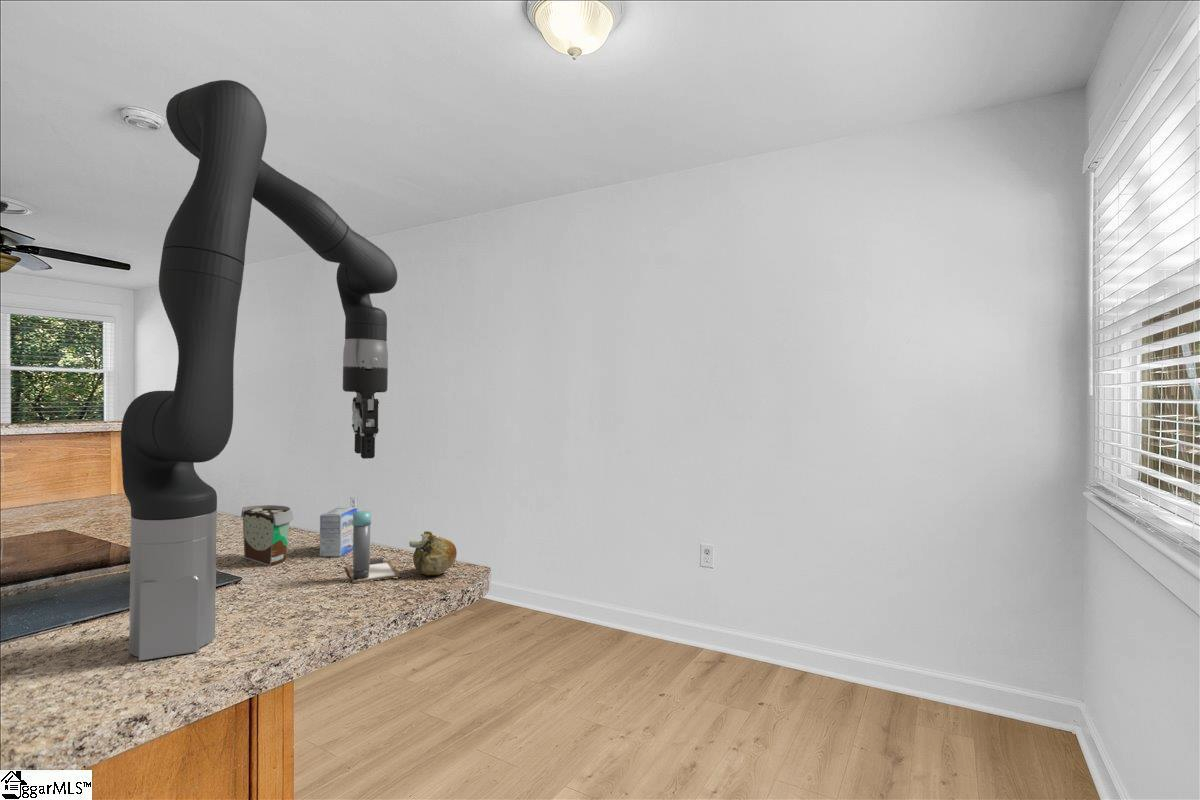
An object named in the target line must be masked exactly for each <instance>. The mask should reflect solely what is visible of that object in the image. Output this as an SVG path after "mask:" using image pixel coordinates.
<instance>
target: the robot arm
mask: <svg viewBox="0 0 1200 800" xmlns="http://www.w3.org/2000/svg"><path fill="white" fill-rule="evenodd" d="M165 112H166V113H165V117H166V122H167V125H168V128H169V130H170V132H171V133H172V135H173V137H174V138H175V139H176V141H177V142H178V143H180V146H182V147H183V148H184V149H185V150H186V151H188V153H190V154H191V155H193V156H194V157H195V158H196V159H198V165H197V170H196V174H195V177H194V179H193V181H192V184H191V186H190V188H189V189H188V191H187V193H186V195H185V196H184V198H183V200H182V202H181V203H180V205H179V207H178V209H177V211H176V212H175V215H173V216H174V217H172V220H171V222H170V224H169V226H168V229H167V231H166V233H165V235H164V236H165V237H164V240H163V244H162V251H161V259H160V266H159V272H158V273H159V274H158V291H159V295H160V296H159V297H160V298H161V299H160V300H161V303H162V305H163V306H162V307H163V308H164V312H165V314H166V317H167V319H168V321H169V323H170V325H171V328H172V330H173V333H174V337H175V340H176V343H177V352H178V356H177V357H178V359H177V370H176V377H175V378H176V379H175V385H174V389H173V390H152V391H148V392H144V393H143V394H140V395H138V396H137V397H136V398H134V399H133V400H132V401H131V402H130V404H129V405H128V406H127V408H126V409H125V410H126V411H125V412H124V414H123V418H122V422H121V429H120V455H121V472H122V474H121V475H122V477H121V478H122V487H123V490H124V491H123V492H124V494H125V496H126V498H127V500H128V503H129V505H130V543H129V544H130V548H129V549H130V552H129V553H130V554H129V555H130V557H129V560H130V561H129V562H130V563H129V629H128V630H129V633H128V634H129V640H128V641H129V643H128V645H129V648H128V652H129V654H131V655H132V656H134V657H138V658H137V659H138V662H139V661H146V660H152V659H159V658H163V657H164V658H165V657H171V656H177V655H182V654H183V655H184V654H190V653H196V652H199V651H200V648H202V647H204V646H206V645H207V644H209V643H211V642H212V641H213V640H214V639H215V637H216V595H217V594H216V589H217V588H216V586H217V585H216V584H217V583H216V582H217V581H216V580H217V579H216V578H217V577H216V576H217V532H218V531H217V530H218V529H217V527H218V526H217V525H218V524H217V523H218V522H217V521H218V518H217V517H218V516H217V514H218V495H217V491H216V489H214V487H212V486H211V485H210V484H208V483H206V482H205V481H204V480H203V479H201V477H200V476H199V475H198V473H197V472H196V470H195V464H196V463H206V462H209V461H212V460H213V459H215V458H217V457H218V456H219V455H220V454H221V453H222V452H223V451H224V449H225V448H226V447H227V444H228V442H229V440H230V438H231V437H230V436H231V434H232V431H233V424H234V423H233V422H234V368H235V367H234V366H235V365H234V363H235V362H234V360H235V359H234V358H235V345H236V336H237V335H236V334H237V323H238V314H239V313H238V312H239V305H240V301H241V300H240V299H241V294H242V287H243V286H242V285H243V280H244V279H243V278H244V271H245V261H246V249H247V239H248V232H249V226H250V218H251V210H252V202H253V200H255V201H256V202H257V203H259V204H260V205H261V206H263V207H264V208H265V209H267V211H269V212H271V213H272V214H273V215H274V216H275V217H277V218H278V219H279V220H280V221H281V222H283V223H284V224H285V225H286V226H287V227H288V228H290V229H291V231H292V232H294V233H295V234H296V235H297V236H298V237H299V238H300V239H301V240H302V241H303V242H304V243H305V244H307V246H308V247H310V249H312V250H313V251H314V253H316V254H317V255H318V256H319V257H320V258H321V259H323V260H325V261H326V262H331V263H335V264H339V265H338V266H337V269H336V270H337V271H336V284H337V286H336V287H337V290H338V293H339V298H340V303H341V306H342V310H343V312H344V315H345V316H344V317H345V323H344V325H345V326H344V346H343V352H342V390H343V392H347V393H356V394H355V395H356V396H354V397H353V398H352V404H351V409H352V415H351V417H352V418H351V421H352V424H351V427H352V431H353V433H354V453H355V454H357V455H358V454H360V457H361V458H362V459H374V458H375V456H376V455H375V453H376V451H375V450H376V449H375V448H376V437H377V434H379V431H380V428H379V404H380V401H379V399H378V398H375V394H376V393H386V392H387V391H388V379H389V378H388V376H389V375H388V373H389V370H388V369H389V367H388V366H389V353H388V352H389V351H388V344H387V343H388V341H387V340H388V335H387V334H388V317H387V314H386V311H384V310H383V309H382V308H379V307H377V306H376V307H375V306H373V304H372V299H371V295H373V294H375V295H376V294H383V293H387V292H390V291H391V290H392V289H393V288H394V287H395V286H396V284H397V281H398V271H397V267H396V265H395V263H394V261H393V260H392V259H391V257H390V256H389V255H388V254H387V253H386V252H385V251H384V250H383V249H381V248H380V247H378V246H377V245H375V243H373V242H372V241H370V240H368V239H367V238H366V237H364V236H363V235H361V234H359V233H357V232H356V231H354V230H353V229H352V228H351V227H350V226H349V225H348V223H346V221H345V220H343V218H342V217H341V216H340V215H339V214H338V212H336V211H335V210H334V209H333V207H331V206H330V205H329V203H327V202H326V201H325V200H324V199H323V198H321V197H320V196H319V195H317V194H316V193H314V192H313V191H311V190H310V189H308V188H306V187H304V186H303V185H301V184H299V183H298V182H295V181H294V180H293V179H290V178H289V177H287V176H285V175H284V174H283V173H281V172H279V170H278V171H277V170H276V169H275V168H274V167H272V166H271V165H269V164H268V163H267V162H266V161H264V160H263V154H264V150H265V146H266V142H267V141H266V140H267V135H268V132H267V131H268V130H267V129H268V125H267V118H266V114H265V110H264V108H263V106H262V103H261V102H260V100H259V99H258V97H257V96H256V94H255V93H254V91H252V90H251V89H250V88H249V87H247V86H246V85H244V84H242V83H241V82H238V81H237V80H236V81H235V80H232V79H219V80H213V81H209V82H205V83H203V84H199V85H197V86H195V87H192V88H188V89H185V90H183V91H180V92H178V93H177V94H175V95H174V96H173V97H171V98H170V99H169V101H168V103H167V105H166V110H165ZM194 463H195V464H194Z"/></svg>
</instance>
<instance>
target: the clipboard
mask: <svg viewBox="0 0 1200 800" xmlns="http://www.w3.org/2000/svg"><path fill="white" fill-rule="evenodd" d="M345 569H346V570H347V573H348V575H349V577H351V578H350V580H351V579H352V580H351V582H352V584H353V583H355V584H360V583H359V582H363V583H365V582H364V581H371V580H378V579H385V578H393V577H402V576H401V574H400V572H398V570H397V569H396V567H395V565H393V563H392V562H391V560H384V558H382V557H378V558H377V557H376V558H370V568H369V577H368V578H365V579H354V578H353V564H347V565H345ZM371 582H372V581H371Z"/></svg>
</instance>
